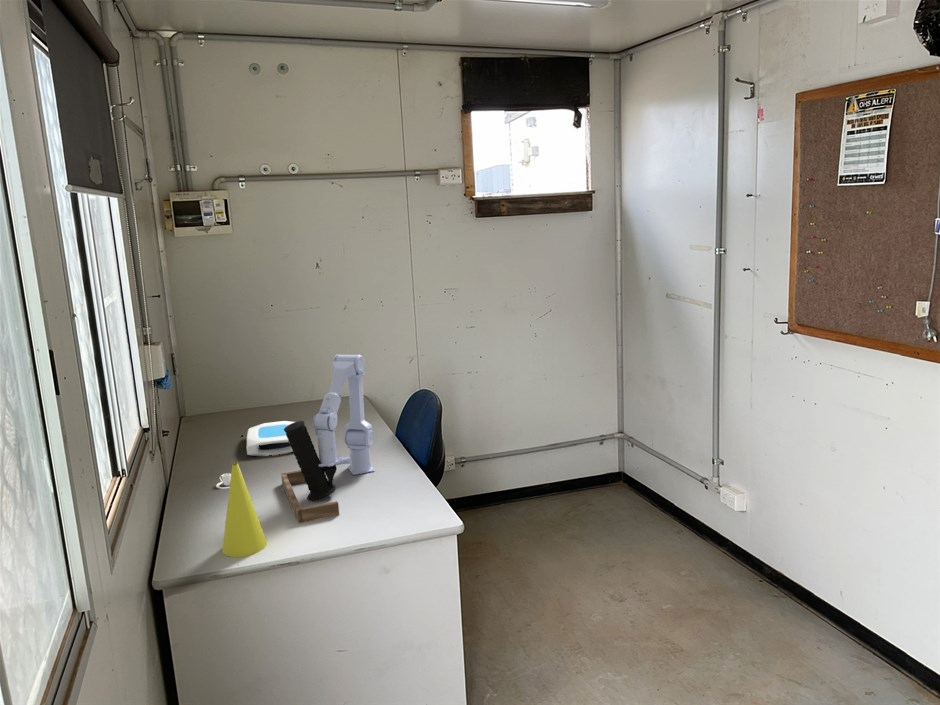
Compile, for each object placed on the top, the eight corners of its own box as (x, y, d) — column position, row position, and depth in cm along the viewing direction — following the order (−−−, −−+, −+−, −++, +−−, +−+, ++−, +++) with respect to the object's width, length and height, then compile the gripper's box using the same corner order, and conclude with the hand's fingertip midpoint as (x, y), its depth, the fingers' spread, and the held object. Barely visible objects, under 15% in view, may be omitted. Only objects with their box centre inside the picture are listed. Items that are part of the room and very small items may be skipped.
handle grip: (306, 492, 243) (308, 504, 234) (277, 424, 236) (278, 433, 226) (334, 481, 245) (337, 493, 236) (306, 412, 237) (308, 422, 228)
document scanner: (300, 432, 313) (299, 418, 312) (302, 452, 287) (300, 437, 285) (250, 438, 308) (248, 424, 307) (247, 459, 282) (245, 444, 280)
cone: (271, 535, 211) (262, 455, 207) (260, 555, 199) (251, 470, 195) (229, 538, 211) (219, 457, 206) (216, 558, 199) (205, 473, 194)
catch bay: (282, 484, 252) (281, 473, 252) (318, 477, 257) (317, 467, 256) (298, 523, 219) (296, 510, 219) (339, 514, 224) (338, 502, 223)
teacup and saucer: (246, 483, 256) (244, 472, 255) (228, 491, 249) (226, 480, 248) (229, 480, 260) (227, 469, 259) (211, 487, 254) (210, 476, 253)
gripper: (307, 455, 231) (311, 495, 234) (351, 447, 237) (354, 486, 239) (303, 449, 238) (307, 488, 240) (346, 442, 243) (349, 480, 245)
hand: (330, 487), depth 240 cm, fingers closed, pressing on handle grip
